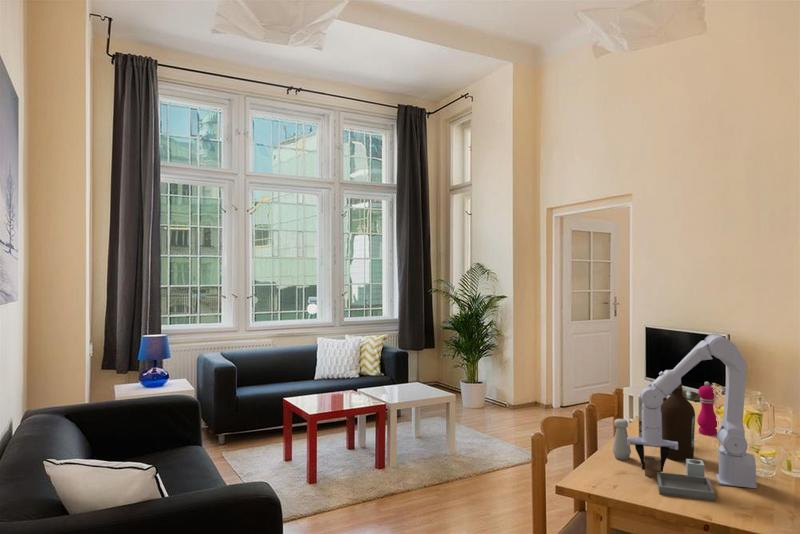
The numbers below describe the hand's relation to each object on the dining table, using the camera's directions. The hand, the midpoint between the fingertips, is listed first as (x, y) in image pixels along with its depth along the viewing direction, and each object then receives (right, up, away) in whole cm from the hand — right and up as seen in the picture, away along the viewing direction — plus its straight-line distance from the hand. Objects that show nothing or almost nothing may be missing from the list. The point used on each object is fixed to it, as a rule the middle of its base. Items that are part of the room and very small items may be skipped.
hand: (652, 469), depth 175 cm
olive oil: (+16, -1, +15) cm, 22 cm away
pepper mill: (+40, -1, +41) cm, 57 cm away
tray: (+4, -1, -12) cm, 13 cm away
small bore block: (0, -1, 0) cm, 1 cm away
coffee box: (+16, -2, +35) cm, 38 cm away
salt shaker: (-4, -2, +15) cm, 16 cm away
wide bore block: (+12, -1, -3) cm, 12 cm away
